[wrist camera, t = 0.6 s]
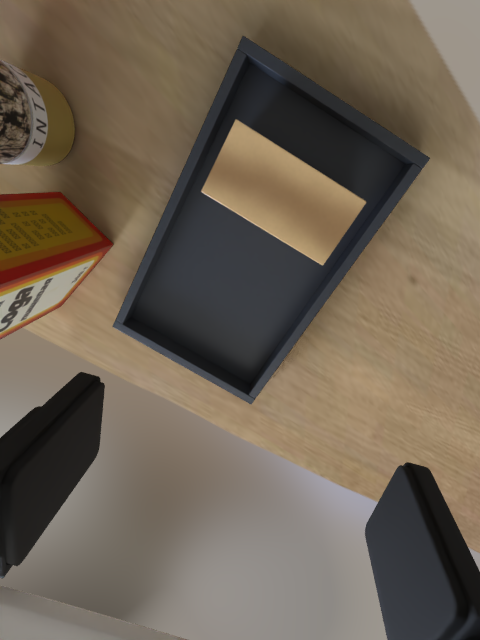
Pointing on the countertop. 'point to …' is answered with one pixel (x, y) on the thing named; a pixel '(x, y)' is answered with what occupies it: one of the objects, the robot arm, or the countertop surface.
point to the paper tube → (32, 119)
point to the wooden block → (281, 193)
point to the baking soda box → (42, 255)
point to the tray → (258, 230)
